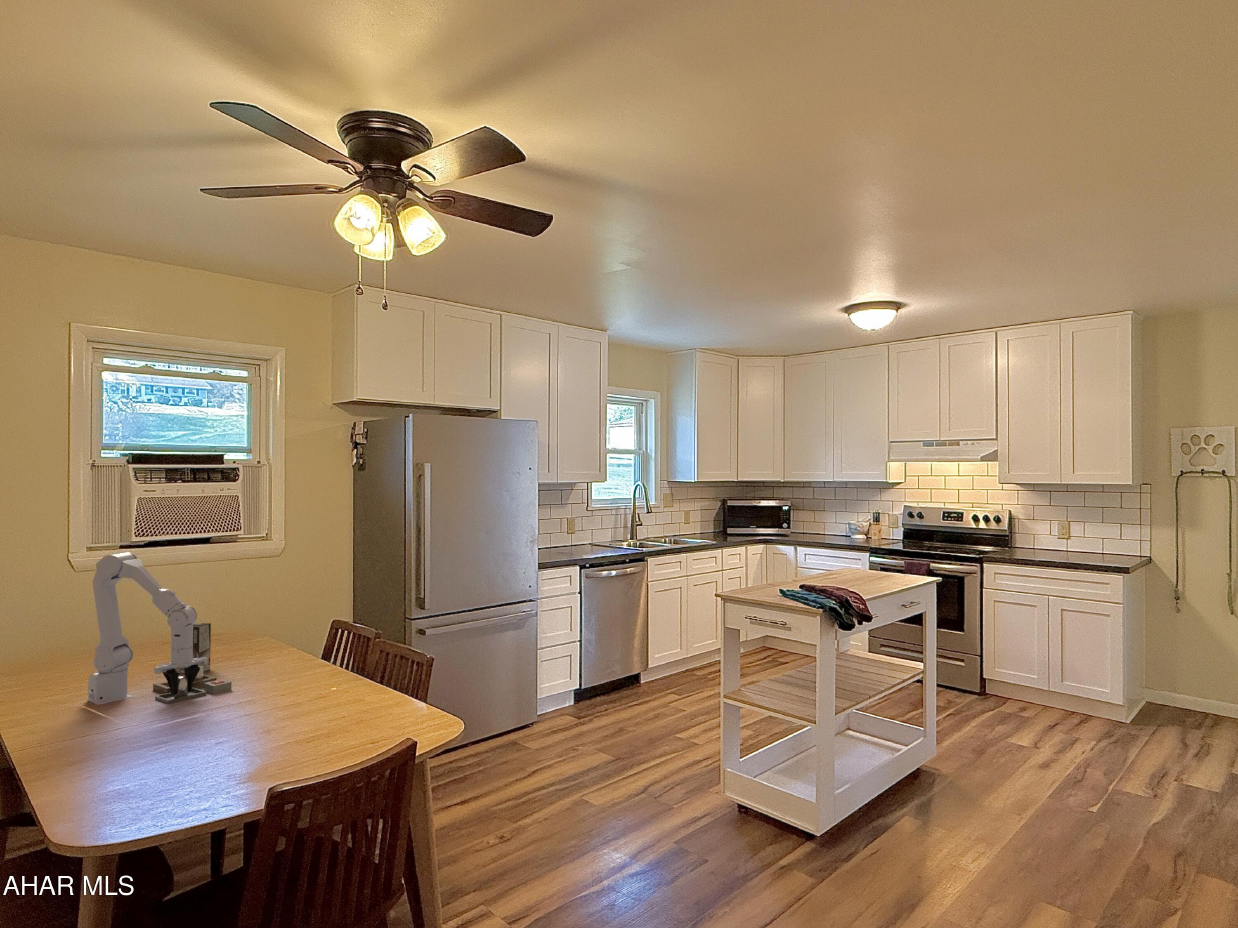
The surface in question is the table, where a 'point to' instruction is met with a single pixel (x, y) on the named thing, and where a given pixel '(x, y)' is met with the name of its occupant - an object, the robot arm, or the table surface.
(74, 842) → the table surface
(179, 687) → the block
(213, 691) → the button housing
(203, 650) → the coffee box
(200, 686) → the pallet
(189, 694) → the shallow grey tray
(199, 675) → the billet
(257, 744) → the table surface
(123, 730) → the table surface
